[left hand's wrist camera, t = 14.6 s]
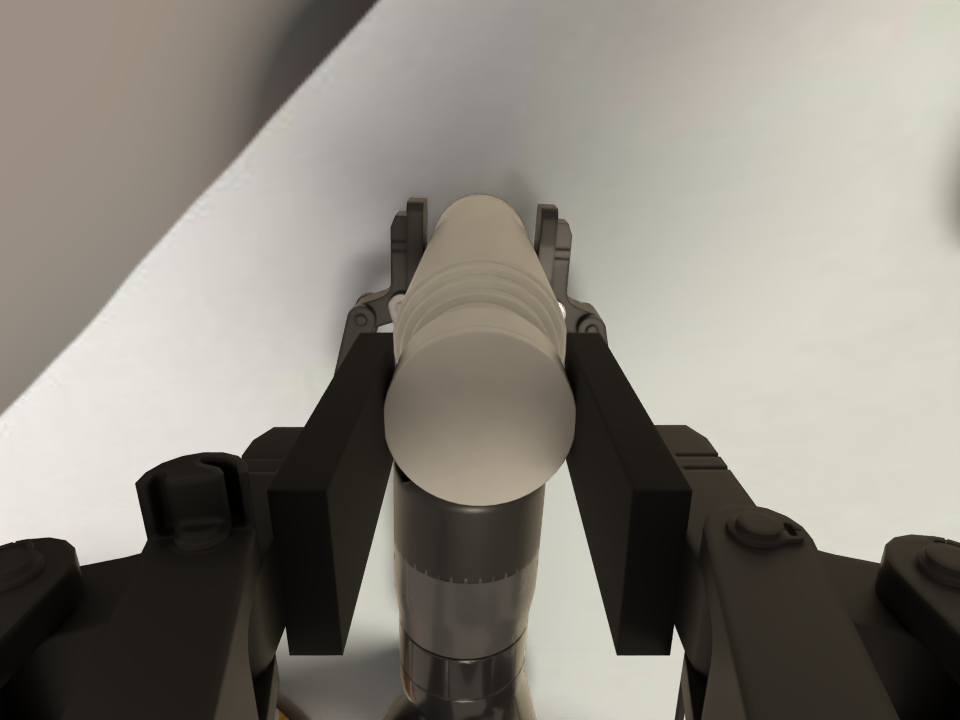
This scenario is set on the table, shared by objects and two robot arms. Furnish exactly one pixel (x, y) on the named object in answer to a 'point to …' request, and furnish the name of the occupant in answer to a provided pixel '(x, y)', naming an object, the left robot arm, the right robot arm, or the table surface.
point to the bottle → (479, 272)
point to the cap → (479, 408)
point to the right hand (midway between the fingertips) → (481, 204)
